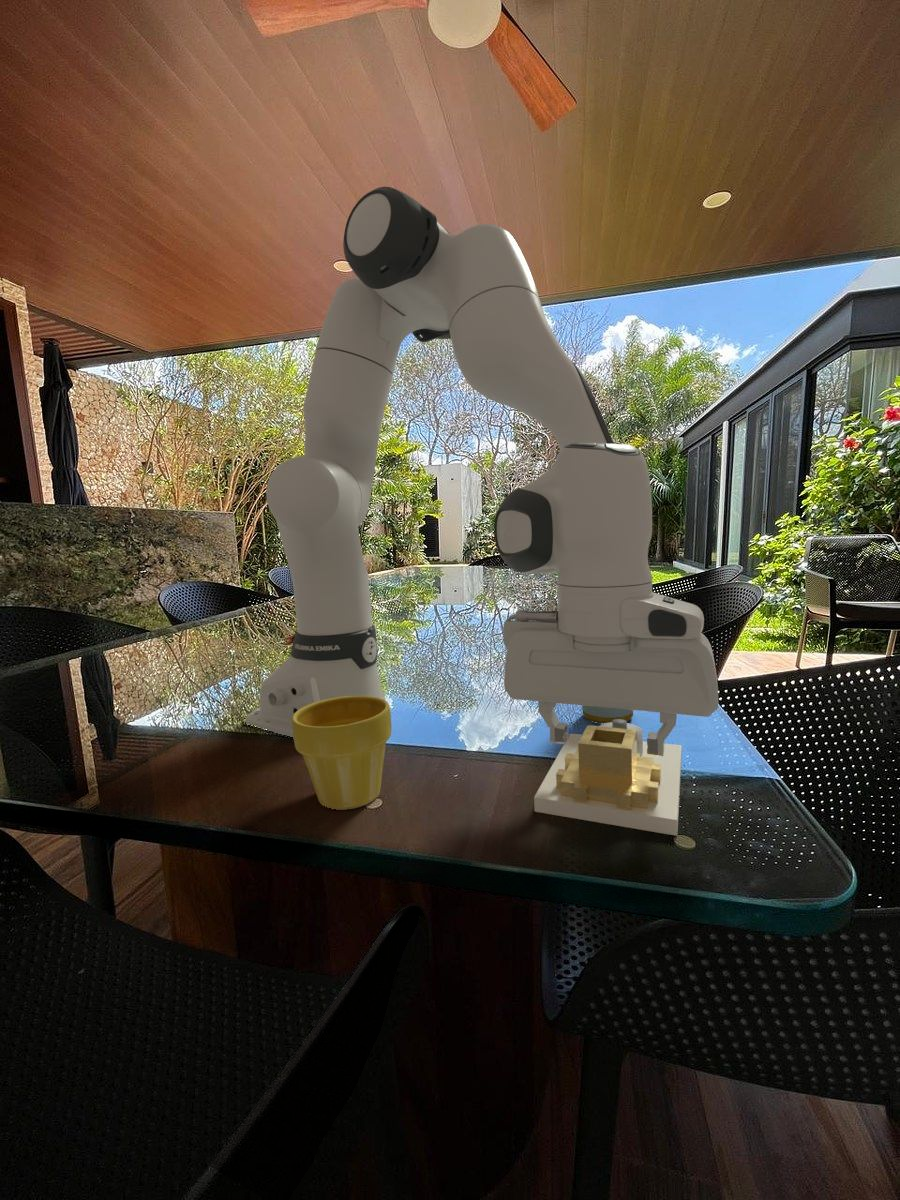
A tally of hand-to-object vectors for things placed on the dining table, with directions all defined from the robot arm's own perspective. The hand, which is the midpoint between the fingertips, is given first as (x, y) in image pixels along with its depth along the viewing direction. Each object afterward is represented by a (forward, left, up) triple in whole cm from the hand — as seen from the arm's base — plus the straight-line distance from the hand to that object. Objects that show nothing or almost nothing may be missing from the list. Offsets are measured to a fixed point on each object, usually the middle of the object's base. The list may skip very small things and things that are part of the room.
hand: (605, 747), depth 54 cm
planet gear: (0, 0, -4) cm, 4 cm away
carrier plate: (0, +4, -6) cm, 7 cm away
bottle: (-3, +23, -6) cm, 24 cm away
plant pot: (-26, -8, -6) cm, 28 cm away
